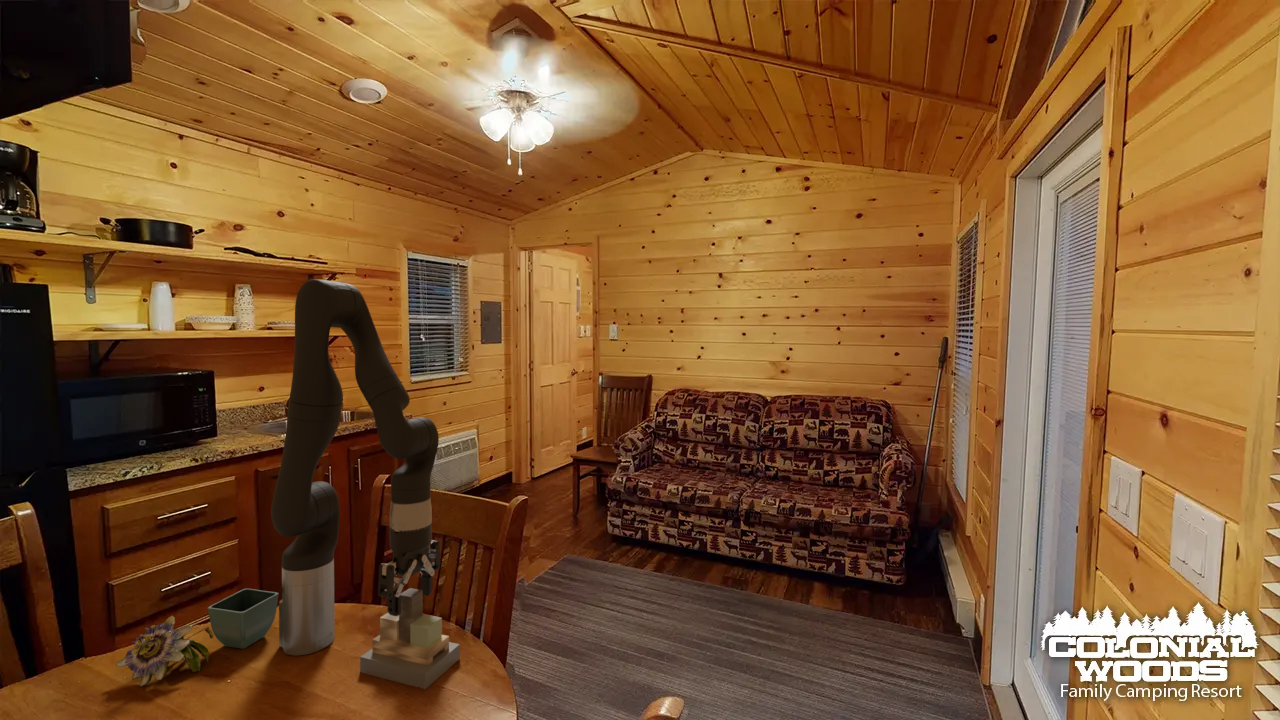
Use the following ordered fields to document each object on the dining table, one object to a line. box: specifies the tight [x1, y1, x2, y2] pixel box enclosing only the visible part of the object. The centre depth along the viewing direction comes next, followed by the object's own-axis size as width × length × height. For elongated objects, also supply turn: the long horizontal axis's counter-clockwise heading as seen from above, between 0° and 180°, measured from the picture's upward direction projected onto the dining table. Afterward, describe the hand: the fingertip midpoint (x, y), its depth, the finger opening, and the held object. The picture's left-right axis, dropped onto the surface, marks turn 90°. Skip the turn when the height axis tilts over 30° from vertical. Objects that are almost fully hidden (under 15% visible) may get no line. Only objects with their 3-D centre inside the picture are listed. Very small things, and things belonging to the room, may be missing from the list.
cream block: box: [379, 612, 399, 642], centre depth 108 cm, size 4×4×4 cm
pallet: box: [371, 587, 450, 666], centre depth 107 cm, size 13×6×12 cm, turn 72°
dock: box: [359, 641, 461, 690], centre depth 107 cm, size 15×10×3 cm, turn 72°
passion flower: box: [115, 615, 214, 687], centre depth 104 cm, size 11×11×12 cm
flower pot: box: [207, 588, 280, 650], centre depth 114 cm, size 9×9×9 cm
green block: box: [410, 613, 443, 649], centre depth 105 cm, size 4×4×4 cm
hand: (411, 604), depth 106 cm, fingers open, 8 cm apart
